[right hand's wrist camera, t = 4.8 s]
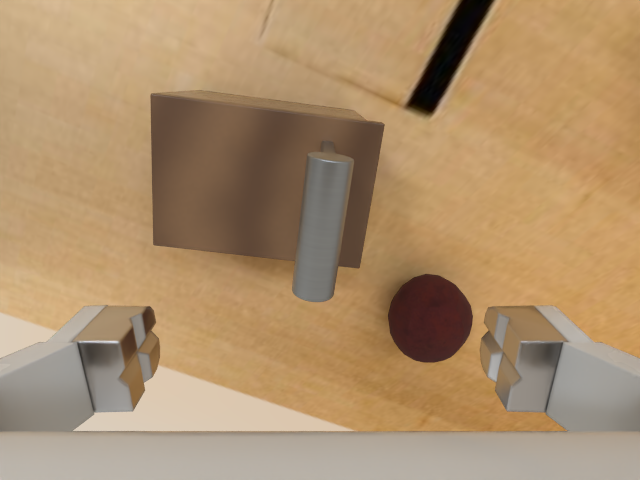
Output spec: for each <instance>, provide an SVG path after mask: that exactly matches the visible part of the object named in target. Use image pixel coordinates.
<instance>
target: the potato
mask: <svg viewBox="0 0 640 480" xmlns="http://www.w3.org/2000/svg"><path fill="white" fill-rule="evenodd" d="M388 319H389V326H390V334H391V336H392V338H393V340H394V342H395V343H396V345H397V346H398V348H399V349H400V350H401V351H402V352H403V353H404V354H405V355H406V356H408V357H410V358H412V359H413V360H416V361H420V362H438V361H443V360H445V359H448V358H450V357H451V356H453V355H454V354H455V353H456V352H457V351H458V350H459V349H460V348H461V346H462V345H463V344H464V343H465V341H466V339H467V338H468V336H469V334H470V330H471V326H472V319H473V315H472V310H471V306H470V304H469V302H468V300H467V299H466V297H465V296H464V295H463V293H462V292H461V291H460V290H459V289H458V287H457V286H456V285H455V284H453V283H452V282H450V281H448V280H446V279H444V278H442V277H440V276H438V275H430V274H425V275H421V276H418V277H414V278H413V279H411V280H410V281H408V282H407V283H406V284H404V285H403V286H402V287H401V288H400V290H399V291H398V292H397V294H396V295H395V296H394V298H393V300H392V302H391V306H390V310H389V314H388Z"/></svg>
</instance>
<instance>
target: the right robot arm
mask: <svg viewBox="0 0 640 480" xmlns="http://www.w3.org/2000/svg"><path fill="white" fill-rule="evenodd" d="M155 323H156V320H155V315H154V310H153V309H152V308H151V307H150V306H108V305H94V306H84V307H83V308H82V309H81V310H80V311H79V312H78V313H77V314H76V315H75V316H73V317H72V318H71V319H70V320H69V321H68V322H67V323H66V324H65V325H64V326H63V327H62V328H61V329H60V330H58V331H57V332H56V333H55V334H54V335H53V336H52V337H51V338H50V339H49V340H48V341H47V342H38V343H36V344H34V345H31V346H29V347H26V348H24V349H22V350H19V351H17V352H14V353H12V354H10V355H7V356H5V357H2V358H0V480H640V358H638V357H635V356H633V355H630V354H628V353H626V352H623V351H621V350H618V349H616V348H614V347H611V346H609V345H606V344H604V343H602V342H593V341H592V340H591V339H590V338H589V337H588V336H587V335H586V334H585V333H584V332H583V331H582V330H581V329H579V328H578V327H577V326H576V325H575V324H574V323H573V322H572V321H571V320H570V319H569V318H568V317H567V316H566V315H565V314H563V313H562V312H561V311H560V310H559V309H558V308H557V307H555V306H552V305H541V306H497V307H488V309H487V311H486V313H485V319H484V323H485V325H486V327H487V328H488V330H489V331H488V332H487V333H486V334H485V335H484V336H483V337H482V338H481V345H480V357H481V364H482V367H483V370H484V372H485V374H486V375H487V377H488V378H490V379H491V380H493V381H494V382H496V387H495V391H496V393H497V395H498V396H499V398H500V400H501V402H502V403H503V405H504V407H505V409H506V410H507V411H512V412H546V415H548V416H549V417H550V418H551V419H553V420H554V421H555V422H557V423H558V424H559V425H561V426H562V427H563V428H565V429H566V430H567V431H73V430H74V429H75V428H77V427H78V426H79V425H81V424H82V423H83V422H85V421H86V420H87V419H89V418H90V417H91V416H93V415H94V412H126V411H133V410H134V409H135V407H136V405H137V403H138V402H139V400H140V398H141V396H142V395H143V393H144V391H145V387H144V382H146V381H147V380H149V379H150V378H152V377H153V375H154V373H155V372H156V370H157V367H158V363H159V358H160V344H159V338H158V337H157V336H156V335H155V334H154V333H153V332H152V331H151V330H152V328H153V327H154V325H155Z"/></svg>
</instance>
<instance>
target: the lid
mask: <svg viewBox="0 0 640 480" xmlns="http://www.w3.org/2000/svg"><path fill="white" fill-rule="evenodd" d="M383 131H384V124H383V123H382V122H375V121H367V120H360V119H352V118H344V117H336V116H329V115H321V114H313V113H306V112H298V111H290V110H283V109H275V108H267V107H260V106H252V105H244V104H236V103H229V102H221V101H213V100H206V99H198V98H190V97H183V96H175V95H167V94H160V93H152V94H151V141H152V194H153V244H154V245H157V246H166V247H175V248H184V249H193V250H201V251H210V252H219V253H228V254H237V255H246V256H254V257H263V258H272V259H281V260H290V261H295V267H294V276H293V285H292V291H293V293H294V294H295V295H296V296H297V297H299V298H300V299H303V300H306V301H311V302H323V301H327V300H329V299H331V298H332V297H333V295H334V289H335V283H336V276H337V270H338V266H343V267H352V268H360V263H361V257H362V251H363V246H364V240H365V234H366V228H367V223H368V217H369V211H370V206H371V200H372V194H373V188H374V183H375V177H376V171H377V165H378V160H379V154H380V148H381V142H382V137H383Z"/></svg>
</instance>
